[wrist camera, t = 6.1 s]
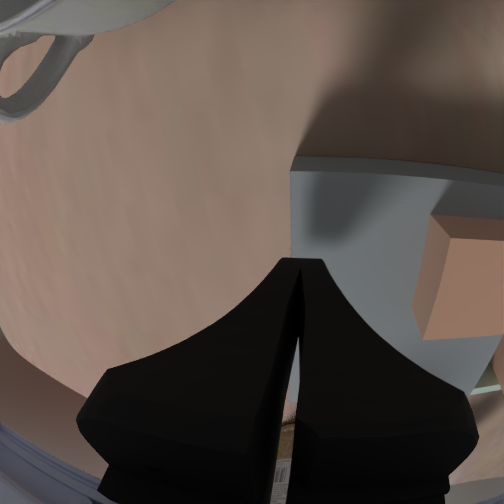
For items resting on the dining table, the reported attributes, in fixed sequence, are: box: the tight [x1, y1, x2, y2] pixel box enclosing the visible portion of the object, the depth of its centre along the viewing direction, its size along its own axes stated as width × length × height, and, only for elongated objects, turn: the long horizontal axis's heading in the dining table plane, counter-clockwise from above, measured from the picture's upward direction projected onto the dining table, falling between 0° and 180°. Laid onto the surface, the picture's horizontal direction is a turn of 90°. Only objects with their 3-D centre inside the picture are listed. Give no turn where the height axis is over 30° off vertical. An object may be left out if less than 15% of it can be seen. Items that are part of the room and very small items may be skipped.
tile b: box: [411, 214, 504, 340], centre depth 9 cm, size 4×4×2 cm
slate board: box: [288, 156, 504, 403], centre depth 13 cm, size 11×12×3 cm
